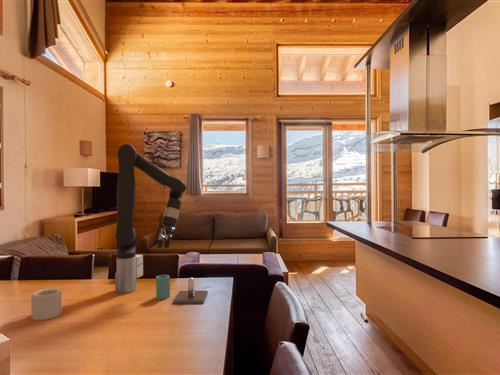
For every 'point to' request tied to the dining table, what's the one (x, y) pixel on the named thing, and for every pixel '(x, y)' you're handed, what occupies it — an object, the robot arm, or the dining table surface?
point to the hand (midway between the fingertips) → (162, 247)
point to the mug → (46, 304)
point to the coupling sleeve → (163, 286)
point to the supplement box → (139, 266)
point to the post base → (191, 299)
